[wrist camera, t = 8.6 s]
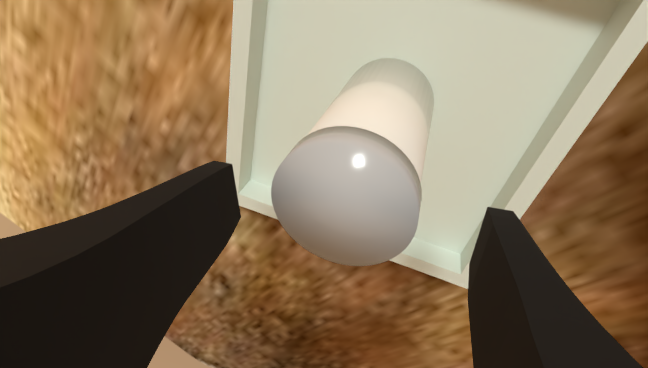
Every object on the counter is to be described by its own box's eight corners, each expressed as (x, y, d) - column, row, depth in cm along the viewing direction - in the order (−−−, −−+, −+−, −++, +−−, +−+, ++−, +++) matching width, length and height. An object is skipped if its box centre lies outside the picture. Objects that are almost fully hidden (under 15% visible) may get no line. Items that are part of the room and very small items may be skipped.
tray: (664, -44, 12) (704, -39, 10) (468, 255, 21) (469, 289, 19) (271, -142, 14) (240, -152, 12) (244, 176, 23) (224, 200, 21)
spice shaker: (440, 55, 15) (423, 148, 9) (432, 148, 17) (414, 276, 11) (339, 55, 16) (259, 137, 10) (344, 142, 18) (282, 254, 12)
